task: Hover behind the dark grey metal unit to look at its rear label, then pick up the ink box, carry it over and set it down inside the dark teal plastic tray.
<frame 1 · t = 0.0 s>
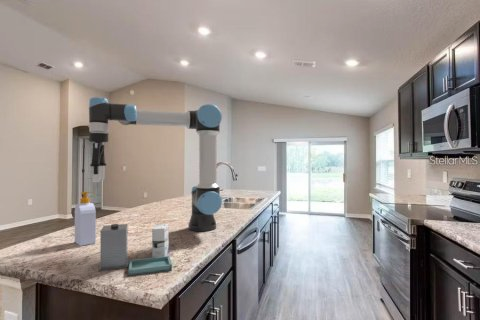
hand: (98, 181, 122), 28 cm above the countertop, fingers open, 13 cm apart
unit: (114, 264, 98), on the countertop
soap bottle: (86, 243, 124), on the countertop
tray: (150, 267, 95), on the countertop
ink box: (160, 256, 107), on the countertop
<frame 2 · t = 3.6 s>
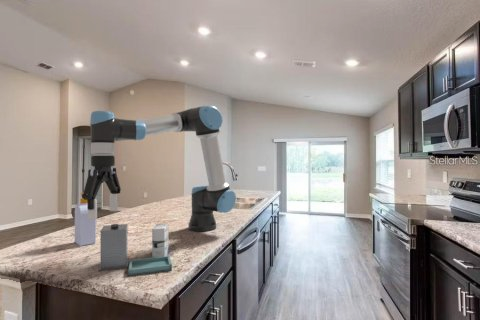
hand: (103, 214, 98), 18 cm above the countertop, fingers open, 13 cm apart
nothing on the countertop moved.
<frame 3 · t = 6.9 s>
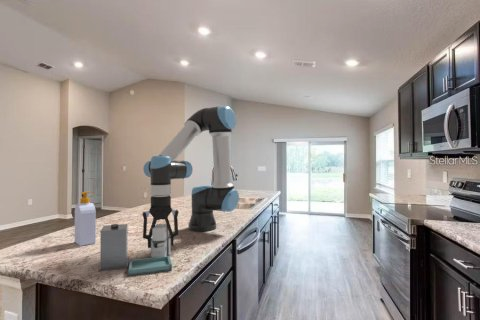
hand: (160, 254, 107), 0 cm above the countertop, fingers closed on ink box, 6 cm apart
ink box: (160, 256, 107), on the countertop, touching gripper
everything else where it was.
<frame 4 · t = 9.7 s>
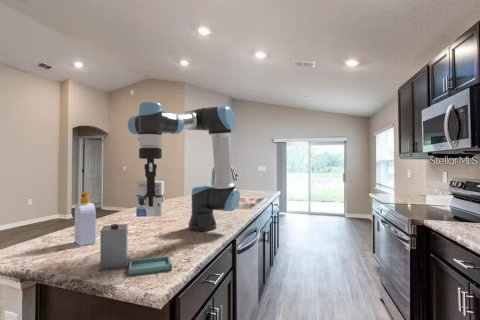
hand: (150, 214, 95), 19 cm above the countertop, fingers closed on ink box, 6 cm apart
ink box: (150, 215, 95), point 18 cm above the countertop, touching gripper
everything else where it was.
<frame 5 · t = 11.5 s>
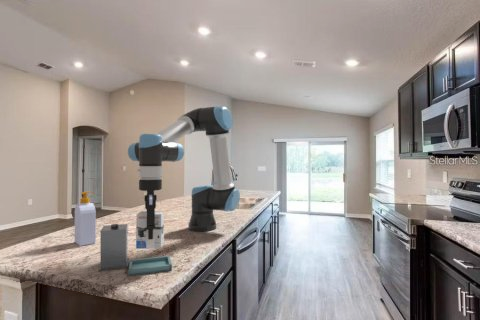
hand: (150, 245, 95), 8 cm above the countertop, fingers closed on ink box, 6 cm apart
ink box: (150, 247, 95), point 7 cm above the countertop, touching gripper
everything else where it was.
when the fingers open (2 cm above the countertop, at t = 12.9 s): ink box drops 1 cm, resting on tray.
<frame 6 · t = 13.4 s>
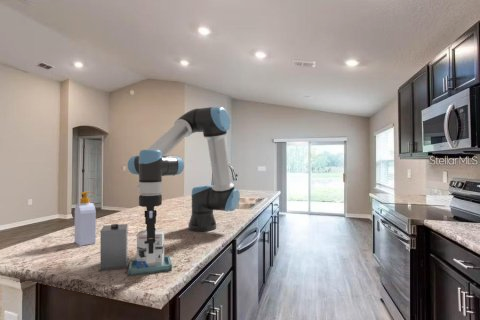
hand: (150, 256, 95), 4 cm above the countertop, fingers open, 12 cm apart
ink box: (150, 266, 95), resting on tray
everything else where it was.
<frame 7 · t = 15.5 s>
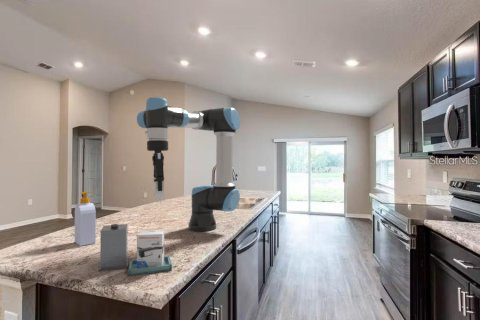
hand: (158, 197, 102), 23 cm above the countertop, fingers open, 13 cm apart
nothing on the countertop moved.
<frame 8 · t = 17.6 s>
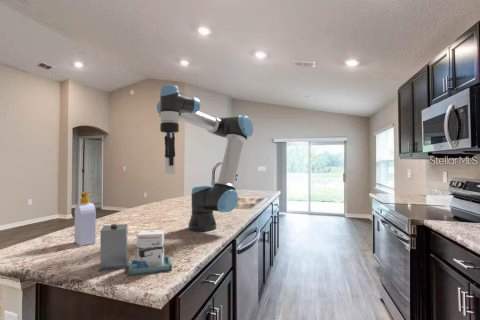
hand: (169, 173, 116), 32 cm above the countertop, fingers open, 13 cm apart
nothing on the countertop moved.
at the end: ink box inside the target area on the tray (0.1 cm from its centre), point 0.4 cm above the tray's base; ink box tilted 0°; the gripper is holding nothing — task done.
